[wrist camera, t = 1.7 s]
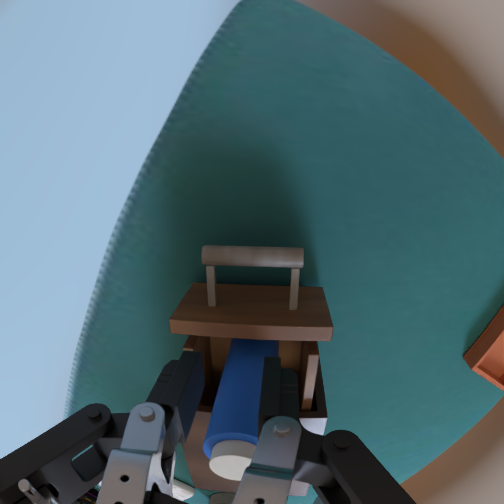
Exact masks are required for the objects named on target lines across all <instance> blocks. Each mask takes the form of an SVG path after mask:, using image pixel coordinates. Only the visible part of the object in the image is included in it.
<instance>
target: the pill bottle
mask: <svg viewBox="0 0 504 504" xmlns="http://www.w3.org/2000/svg"><path fill="white" fill-rule="evenodd" d="M264 356H272V357H278V356H279V340H257V339H238V338H232V340H231V344H230V348H229V351H228V355H227V359H226V362H225V366H224V370H223V373H222V377H221V381H220V385H219V388H218V392H217V396H216V399H215V403H214V406H213V410H212V414H211V417H210V421H209V425H208V428H207V432H206V436H205V439H204V443H203V450H204V453H205V455H206V456H207V457H208V458H209V459H210V462H209V466H210V469H211V470H212V471H213V472H214V473H215V474H217V475H219V476H221V477H223V478H226V479H230V480H237V481H241V479H242V476H243V473H244V471H245V469H246V467H247V466H249V465H250V463H251V460H252V457H253V455H254V452H255V449H256V446H257V443H258V413H259V404H260V395H261V385H262V376H263V366H264Z"/></svg>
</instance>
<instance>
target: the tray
mask: <svg viewBox="0 0 504 504" xmlns="http://www.w3.org/2000/svg"><path fill="white" fill-rule="evenodd" d="M463 358H464V360H465V361H466V362H467V364H468V365H469V367H470V368H471V369H472V370H473V371H475V372H476V373H478V374H479V375H481V376H482V377H484V378H485V379H487V380H488V381H490V382H491V383H493V384H494V385H496V386H497V387H498V388H500V389H501V390H503V391H504V304H503V306H502V307H501V309H500V310H499V312H498V313H497V314H496V316H495V317H494V318H493V320H492V321H491V322H490V324H489V325H488V326H487V328H486V329H485V330H484V332H483V333H482V334H481V335H480V337H479V338H478V339H477V340H476V342H475V343H474V344H473V345H472V347H471V348H470V349H469V350H468V351H467V353H466V354H465V355H464V356H463Z"/></svg>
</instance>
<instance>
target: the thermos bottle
mask: <svg viewBox="0 0 504 504" xmlns="http://www.w3.org/2000/svg"><path fill="white" fill-rule="evenodd" d="M235 495H236V494H235V493H216V494H214V495H212V496H211V497H210V501H209V504H223V503H224V504H232V502H233V500H234V497H235Z"/></svg>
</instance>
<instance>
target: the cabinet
mask: <svg viewBox="0 0 504 504" xmlns="http://www.w3.org/2000/svg"><path fill="white" fill-rule="evenodd" d="M212 410H213V406H204V405H198V408H197V411H196V414H195V417H194V420H193V423H192V426H191V429H190V432H189V435H188V438H187V441H186V443H182V446H183V450H184V454H185V457H186V461H187V464H188V468H189V471H190V474H191V478H192V481H193V484H194V487H195V488H200V489H207V490H214V491H222V492H231V493H236V492H237V489H238V487H239V484H240V481H237V480H230V479H226V478H223V477H221V476H219V475H217V474H215V473H214V472H213V471H212V470H211V469H210V466H209V462H210V459H209V458H208V457H207V456H206V455H205V453H204V450H203V443H204V439H205V436H206V432H207V428H208V425H209V421H210V417H211V414H212ZM299 418H300V422H301V424H302V426H303V427H304V428H305V429H307V430H308V431H310V432H312V433H315V434H319V435H324V431H325V427H326V422H327V418H328V416H327V408H326V401H325V393H324V386H323V379H322V372H321V365H320V359H319V361H318V367H317V374H316V381H315V387H314V393H313V399H312V405H311V411H299ZM309 485H310V484H308V483H304V482H300V481H296V480H293V479H292V482H291V487H290V491H289V495H288V496H306V495H307V491H308V488H309Z"/></svg>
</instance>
